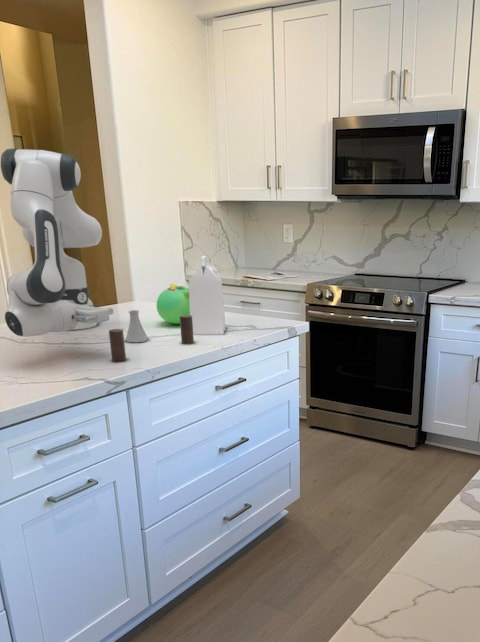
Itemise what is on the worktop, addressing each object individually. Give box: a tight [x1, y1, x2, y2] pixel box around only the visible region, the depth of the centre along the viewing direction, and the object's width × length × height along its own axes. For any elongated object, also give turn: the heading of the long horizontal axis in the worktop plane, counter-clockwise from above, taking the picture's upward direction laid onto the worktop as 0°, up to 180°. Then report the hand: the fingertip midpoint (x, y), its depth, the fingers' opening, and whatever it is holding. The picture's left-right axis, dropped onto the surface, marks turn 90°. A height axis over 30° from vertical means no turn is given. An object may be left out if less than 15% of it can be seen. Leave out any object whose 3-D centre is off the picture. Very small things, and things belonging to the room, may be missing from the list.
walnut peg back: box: [179, 315, 195, 345], centre depth 202 cm, size 4×4×9 cm
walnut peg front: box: [108, 328, 127, 363], centre depth 180 cm, size 4×4×9 cm
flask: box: [125, 309, 149, 343], centre depth 203 cm, size 7×7×10 cm
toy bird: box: [156, 283, 190, 325], centre depth 230 cm, size 18×17×15 cm
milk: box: [188, 255, 226, 335], centre depth 216 cm, size 12×12×26 cm
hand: (102, 309), depth 191 cm, fingers open, 8 cm apart
